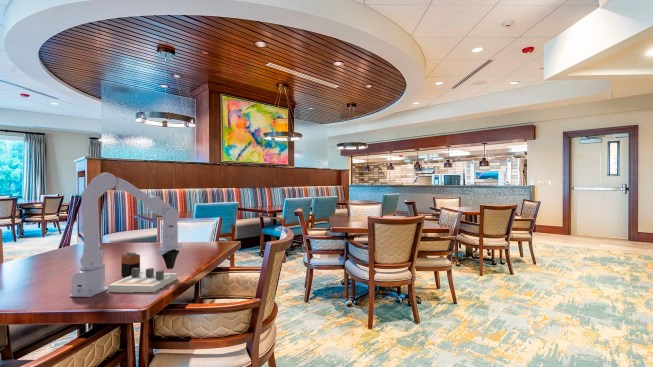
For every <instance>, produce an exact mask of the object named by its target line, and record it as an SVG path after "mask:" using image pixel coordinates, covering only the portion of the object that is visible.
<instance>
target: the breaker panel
mask: <svg viewBox="0 0 653 367" xmlns="http://www.w3.org/2000/svg"><path fill="white" fill-rule="evenodd" d="M176 279H177V280H178V273H177V272H164V278H162V279H156V272H154V275H153V276H151V277H146V272H140V273H139V275H138V276H129V277H124V278H122V279H120V280H117V281H115V282H113V283H110V284H108V285H107V287H108V289H107V291H108V293H133V292H154V291H155V292H157V291H159V290H160V288H161V289H162V288H164V287H166V286H168V285H170V284H172V283H173V282H175V281H176ZM174 280H175V281H174ZM172 281H173V282H172ZM169 283H170V284H169ZM167 284H168V285H167ZM165 285H166V286H165ZM158 289H159V290H158ZM156 290H157V291H156ZM155 292H154V293H155Z"/></svg>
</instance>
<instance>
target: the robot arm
mask: <svg viewBox="0 0 653 367" xmlns="http://www.w3.org/2000/svg"><path fill="white" fill-rule="evenodd" d="M112 189H115V190H116V191H121V192H126V193H128V194H129V195H131V196H133V197H134V198H136V199H138V200H140V201H142V202H143V205H144V208H146V209H147V210H149V211H151V212H152V213H154V214H155V215H158V216H160V217H161V218H162V226H161V228H162V231H161V232H162V233H161V234H162V236H161V237H162V239H161V240H162V245H161V247H160V248H159V249H157V250H156V251H157V252H156V254H157V256H161V257H162V258H163V260H164V264H165V268H166V270H173V269H174V267H175V264H176V259H177V258H178V255H179V253H180V250H179V249H182V245H183V244H182V242H179V241H178V240H179V239H178V238H179V235H178V234H179V233H178V232H179V228H178V227H179V224H178V222H179V221H178V220H179V217H180V213H179V211H178V209H177V208H175V207H173V206H172V204H171V203H169V202H168V203H167V202H165V201H164V200H163V199H161V198H162V197H161V196H159V195H148V194H147V193H145V192H144V191H142V190H141V189H139V188H138V187H136V186H135V185H134V184H132V183H130V182H129V181H127V180H125V179H122V178H120V177H119V176H115V174H113V173H109V172H102V173H100V174H98V175H96V176H95V177H93V178H92V179H91V181H90V182H89V183H88V185H86V187H85V189H84V190H83V191H82V193H81V209H82V210H81V211H82V231H83V250H82V256H81V257H80V259H79V261H80V262H79V263H80V265H81V266H80V268H79V271H77V272H76V273H74V275H72V277H71V294H69V297H75V298H77V297H78V298H79V297H80V298H84V297H86V298H88V297H89V298H90V297H93V296H96V295H98V294H100V293H102V292H105V291H108V286H106V285H105V282H106V278H105V276H106V275H105V274H106V272H105V271H106V268H105V267H106V264H105V263H104V262H103V259H104V257H105V252H104V250H103V249H102V247H101V246H102V245H101V237H100V235H101V234H100V217H99V216H100V214H99V198H100V197H102V196H103V195H104V194H105V193H106V192H107V191H111V190H112Z"/></svg>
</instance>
